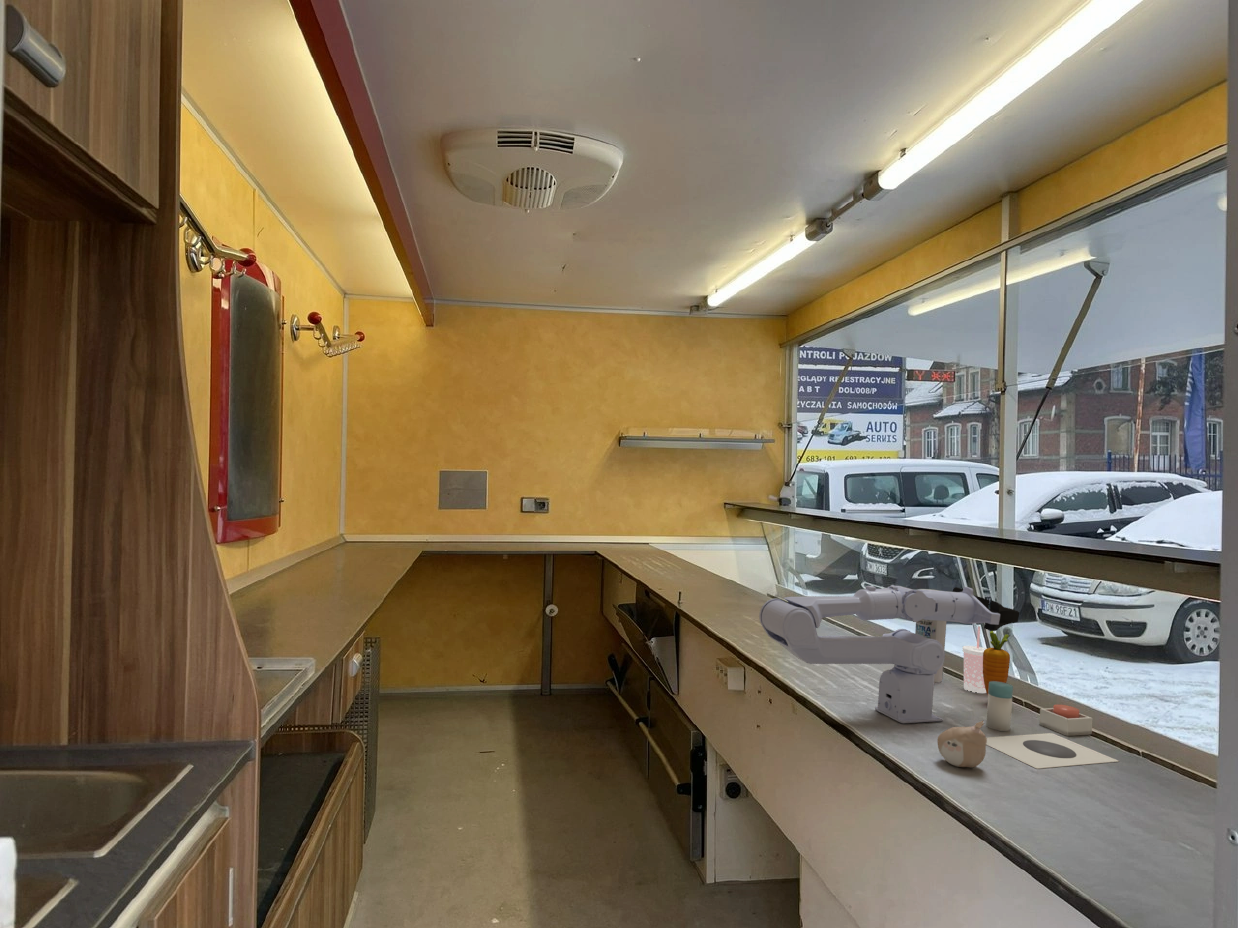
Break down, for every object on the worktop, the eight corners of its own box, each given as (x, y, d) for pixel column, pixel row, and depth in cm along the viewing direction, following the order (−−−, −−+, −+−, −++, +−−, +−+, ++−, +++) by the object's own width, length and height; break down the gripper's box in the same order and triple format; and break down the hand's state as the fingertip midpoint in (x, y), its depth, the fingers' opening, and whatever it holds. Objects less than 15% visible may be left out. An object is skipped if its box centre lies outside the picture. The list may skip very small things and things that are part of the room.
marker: (998, 731, 136) (1001, 687, 136) (981, 723, 140) (983, 681, 140) (1015, 730, 138) (1018, 687, 138) (997, 722, 141) (1000, 680, 141)
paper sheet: (1036, 768, 119) (1036, 767, 119) (974, 738, 131) (974, 737, 131) (1119, 761, 125) (1119, 760, 125) (1051, 733, 137) (1051, 732, 137)
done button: (1067, 723, 138) (1067, 712, 138) (1047, 715, 142) (1048, 704, 142) (1084, 721, 139) (1084, 711, 139) (1064, 714, 143) (1064, 703, 143)
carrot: (1006, 702, 155) (1010, 631, 155) (1007, 709, 151) (1012, 635, 151) (979, 698, 157) (984, 627, 157) (980, 704, 153) (984, 631, 153)
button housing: (1067, 735, 136) (1068, 719, 136) (1039, 724, 142) (1040, 708, 142) (1091, 734, 138) (1092, 717, 138) (1063, 722, 144) (1064, 707, 144)
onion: (956, 774, 115) (960, 722, 115) (929, 758, 121) (932, 708, 121) (992, 772, 116) (995, 721, 116) (963, 756, 123) (966, 708, 123)
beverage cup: (987, 696, 159) (991, 630, 159) (956, 689, 163) (960, 625, 163) (993, 690, 164) (997, 626, 164) (963, 684, 168) (967, 621, 168)
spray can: (905, 675, 172) (911, 589, 172) (926, 673, 175) (931, 588, 175) (928, 683, 166) (934, 594, 166) (949, 681, 169) (954, 593, 169)
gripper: (975, 596, 137) (1034, 601, 141) (923, 576, 151) (979, 581, 154) (968, 633, 137) (1028, 637, 141) (917, 610, 151) (973, 614, 155)
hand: (1002, 610), depth 148 cm, fingers open, 7 cm apart
